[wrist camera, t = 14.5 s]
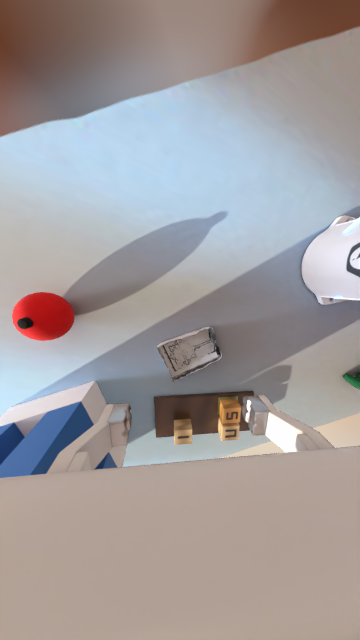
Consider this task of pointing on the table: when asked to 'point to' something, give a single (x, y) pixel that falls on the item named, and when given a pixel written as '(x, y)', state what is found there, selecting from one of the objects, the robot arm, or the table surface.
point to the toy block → (51, 430)
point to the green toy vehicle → (353, 380)
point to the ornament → (43, 316)
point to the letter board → (196, 416)
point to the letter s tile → (229, 410)
